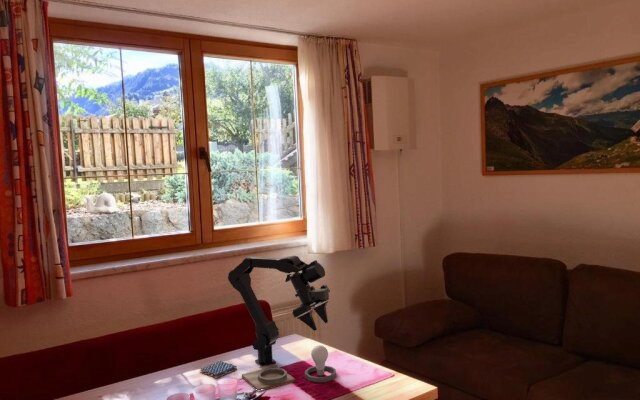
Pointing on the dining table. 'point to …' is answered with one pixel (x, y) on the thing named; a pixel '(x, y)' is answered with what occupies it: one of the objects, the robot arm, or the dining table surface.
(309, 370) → the collar
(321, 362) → the lightbulb
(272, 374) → the socket board
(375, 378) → the dining table surface
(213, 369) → the woven mat
